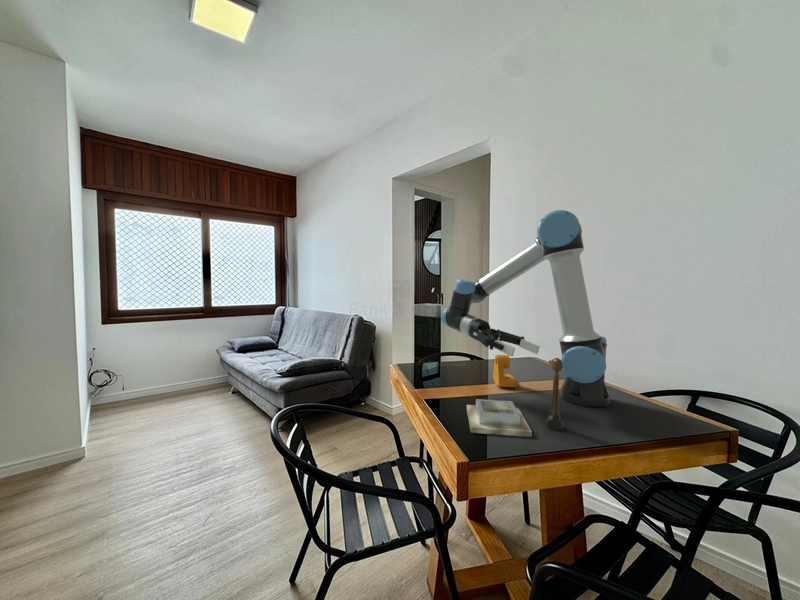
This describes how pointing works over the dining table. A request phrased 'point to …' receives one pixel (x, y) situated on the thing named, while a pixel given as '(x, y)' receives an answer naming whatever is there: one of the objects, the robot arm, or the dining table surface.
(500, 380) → the bracket
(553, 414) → the wooden tabletop sculpture
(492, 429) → the stand
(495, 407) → the collar
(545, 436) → the dining table surface
